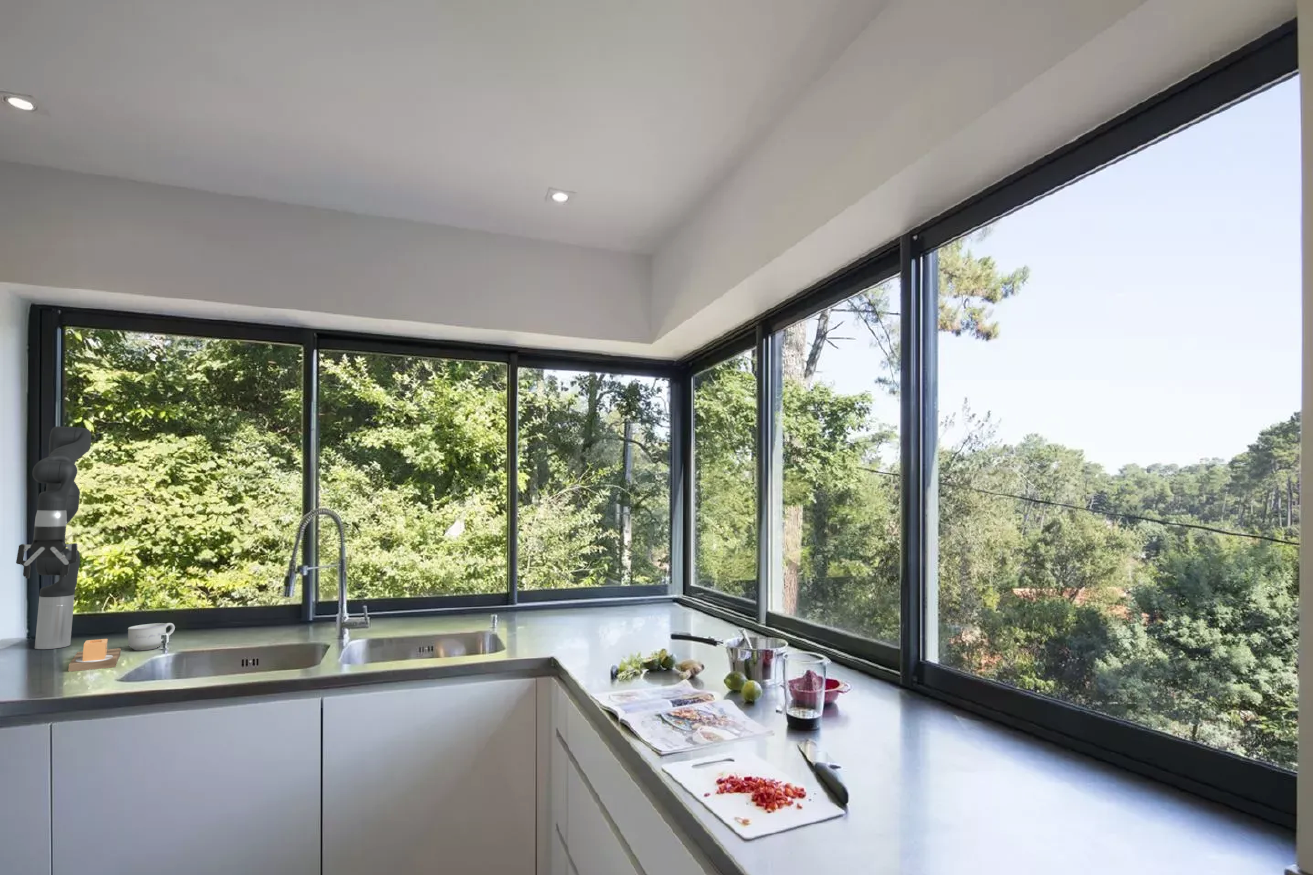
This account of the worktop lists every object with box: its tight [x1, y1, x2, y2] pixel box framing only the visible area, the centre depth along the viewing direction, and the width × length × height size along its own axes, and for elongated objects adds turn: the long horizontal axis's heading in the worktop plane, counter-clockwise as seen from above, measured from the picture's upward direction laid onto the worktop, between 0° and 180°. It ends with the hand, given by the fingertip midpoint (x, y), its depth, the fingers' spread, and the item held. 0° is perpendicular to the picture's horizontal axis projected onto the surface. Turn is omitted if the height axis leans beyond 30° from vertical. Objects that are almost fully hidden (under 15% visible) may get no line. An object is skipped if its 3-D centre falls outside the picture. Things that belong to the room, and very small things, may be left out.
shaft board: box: [67, 647, 122, 672], centre depth 218 cm, size 20×11×5 cm, turn 34°
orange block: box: [82, 638, 109, 661], centre depth 214 cm, size 7×5×5 cm
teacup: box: [127, 622, 176, 651], centre depth 240 cm, size 14×11×8 cm
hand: (45, 577), depth 218 cm, fingers open, 8 cm apart
